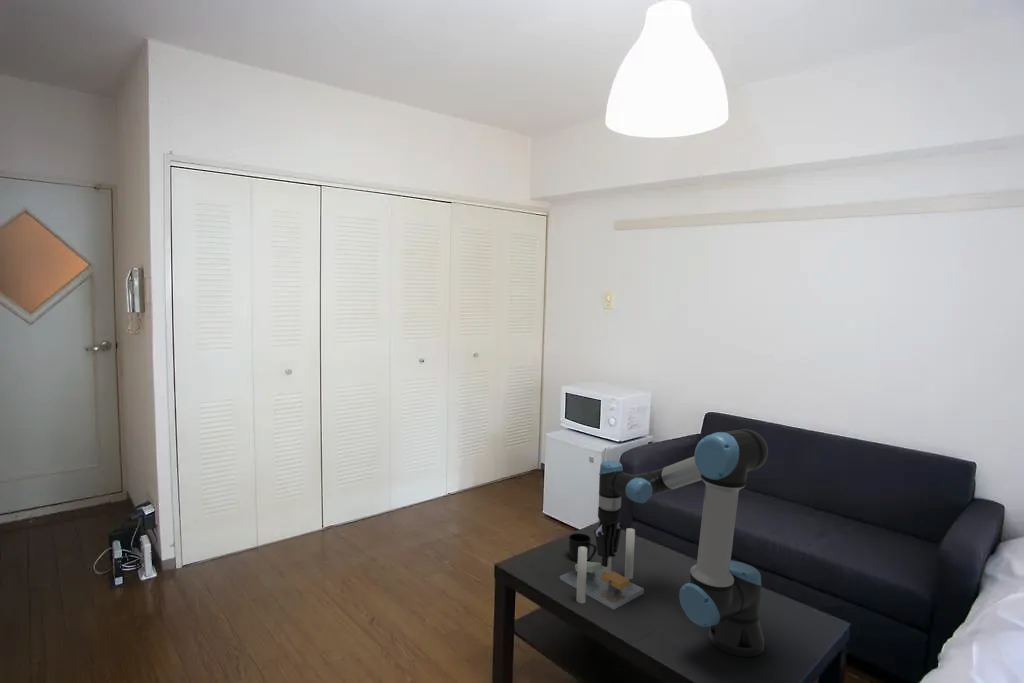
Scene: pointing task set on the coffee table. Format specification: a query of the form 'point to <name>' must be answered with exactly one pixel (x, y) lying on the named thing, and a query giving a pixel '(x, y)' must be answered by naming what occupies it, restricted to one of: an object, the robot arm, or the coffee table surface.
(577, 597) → the cord post left
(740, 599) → the robot arm
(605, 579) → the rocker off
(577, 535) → the mug
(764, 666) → the coffee table surface
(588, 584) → the panel
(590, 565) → the rocker on
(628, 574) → the cord post right
